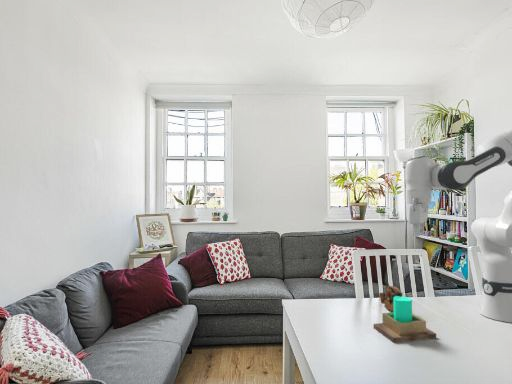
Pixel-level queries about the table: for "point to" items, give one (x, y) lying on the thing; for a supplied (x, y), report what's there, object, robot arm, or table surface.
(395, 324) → the candle stand
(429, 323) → the table surface
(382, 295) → the wooden carving
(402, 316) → the candle
